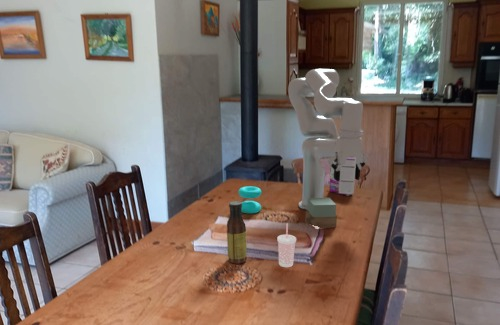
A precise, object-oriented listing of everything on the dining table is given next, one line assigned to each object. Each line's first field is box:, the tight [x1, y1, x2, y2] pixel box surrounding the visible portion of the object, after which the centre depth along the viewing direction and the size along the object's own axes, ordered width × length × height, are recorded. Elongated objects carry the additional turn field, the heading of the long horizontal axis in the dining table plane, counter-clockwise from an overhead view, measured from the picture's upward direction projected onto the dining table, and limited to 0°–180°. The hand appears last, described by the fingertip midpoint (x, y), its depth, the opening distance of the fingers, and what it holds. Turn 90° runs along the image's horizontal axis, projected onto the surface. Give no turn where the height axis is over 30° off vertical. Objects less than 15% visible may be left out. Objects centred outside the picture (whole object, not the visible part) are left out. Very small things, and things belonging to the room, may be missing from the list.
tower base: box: [304, 210, 338, 230], centre depth 177 cm, size 9×9×5 cm
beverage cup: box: [276, 222, 297, 268], centre depth 141 cm, size 6×6×14 cm
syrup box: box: [338, 157, 356, 195], centre depth 167 cm, size 6×6×14 cm
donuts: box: [238, 185, 262, 214], centre depth 192 cm, size 10×10×10 cm
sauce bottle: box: [226, 200, 248, 265], centre depth 142 cm, size 7×6×20 cm
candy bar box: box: [329, 161, 353, 197], centre depth 218 cm, size 11×5×16 cm, turn 43°
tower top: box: [307, 197, 337, 217], centre depth 176 cm, size 9×9×5 cm
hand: (346, 179), depth 168 cm, fingers closed on syrup box, 7 cm apart
